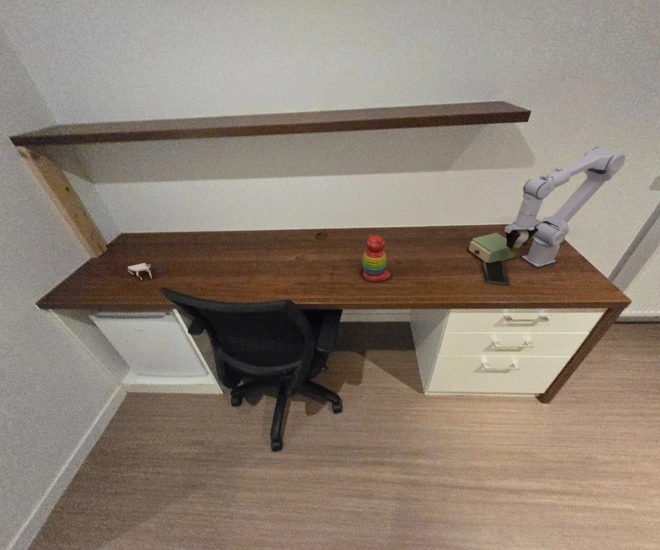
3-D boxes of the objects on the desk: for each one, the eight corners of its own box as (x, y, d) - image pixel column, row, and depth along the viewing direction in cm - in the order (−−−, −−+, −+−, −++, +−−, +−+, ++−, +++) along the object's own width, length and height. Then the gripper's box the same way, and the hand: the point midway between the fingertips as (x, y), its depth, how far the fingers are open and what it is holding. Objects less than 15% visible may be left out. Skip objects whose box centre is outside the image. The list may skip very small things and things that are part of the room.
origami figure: (159, 268, 135) (155, 259, 132) (152, 280, 128) (147, 270, 125) (133, 271, 135) (127, 262, 132) (124, 282, 128) (118, 273, 125)
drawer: (483, 263, 123) (486, 254, 120) (466, 250, 131) (468, 241, 128) (508, 256, 125) (511, 247, 123) (490, 244, 133) (492, 235, 131)
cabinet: (488, 264, 123) (492, 252, 120) (469, 250, 132) (472, 238, 129) (513, 257, 126) (517, 245, 122) (492, 244, 135) (496, 232, 131)
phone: (486, 280, 114) (482, 259, 125) (485, 283, 114) (481, 261, 126) (509, 283, 112) (503, 261, 123) (508, 285, 112) (502, 263, 124)
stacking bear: (392, 277, 120) (396, 238, 109) (371, 285, 116) (373, 246, 106) (377, 264, 128) (378, 226, 117) (356, 271, 124) (356, 234, 114)
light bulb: (522, 257, 113) (532, 233, 107) (505, 254, 115) (513, 231, 109) (520, 249, 118) (529, 226, 112) (503, 247, 120) (511, 224, 114)
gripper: (521, 220, 102) (508, 254, 110) (553, 213, 105) (539, 246, 113) (505, 212, 107) (494, 245, 115) (536, 205, 111) (523, 238, 119)
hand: (515, 245), depth 115 cm, fingers closed on light bulb, 5 cm apart
